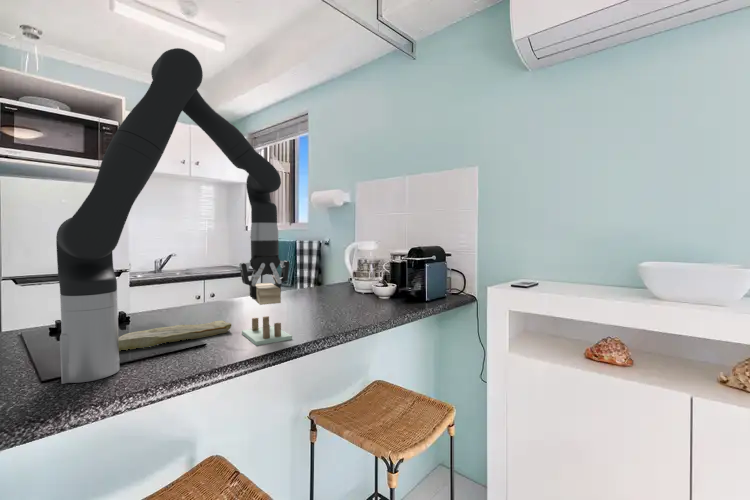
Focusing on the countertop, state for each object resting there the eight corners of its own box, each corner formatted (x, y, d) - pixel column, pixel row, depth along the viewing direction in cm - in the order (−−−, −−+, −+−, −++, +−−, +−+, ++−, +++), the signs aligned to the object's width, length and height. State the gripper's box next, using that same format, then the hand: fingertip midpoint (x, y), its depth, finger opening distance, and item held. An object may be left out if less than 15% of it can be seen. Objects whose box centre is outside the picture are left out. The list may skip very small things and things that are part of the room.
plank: (280, 303, 99) (280, 288, 98) (259, 304, 96) (259, 289, 96) (270, 295, 111) (270, 282, 111) (251, 297, 108) (251, 283, 108)
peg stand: (292, 339, 101) (292, 323, 101) (256, 345, 95) (255, 328, 95) (274, 328, 112) (274, 314, 112) (241, 333, 107) (241, 318, 106)
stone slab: (106, 333, 97) (221, 313, 117) (107, 348, 98) (222, 326, 117) (110, 343, 88) (234, 320, 107) (111, 359, 88) (235, 333, 108)
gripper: (242, 239, 95) (243, 302, 96) (293, 238, 104) (294, 297, 104) (235, 239, 102) (236, 298, 102) (284, 238, 110) (285, 293, 111)
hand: (265, 297), depth 103 cm, fingers closed on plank, 6 cm apart
